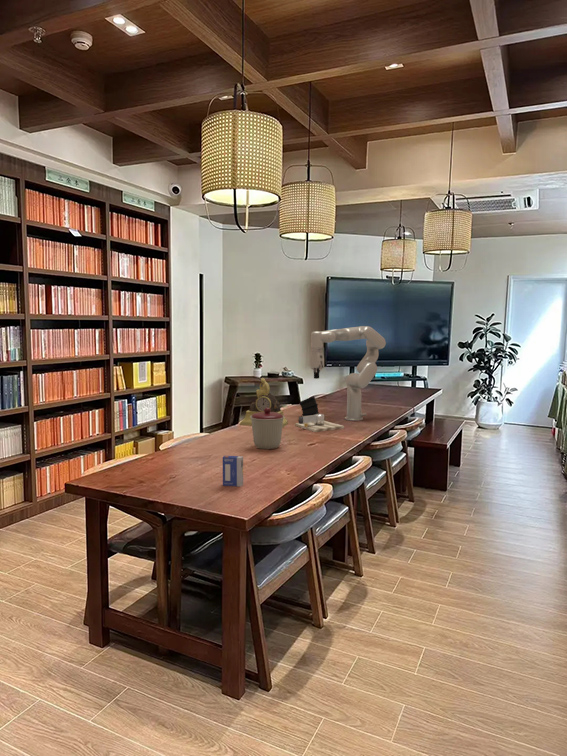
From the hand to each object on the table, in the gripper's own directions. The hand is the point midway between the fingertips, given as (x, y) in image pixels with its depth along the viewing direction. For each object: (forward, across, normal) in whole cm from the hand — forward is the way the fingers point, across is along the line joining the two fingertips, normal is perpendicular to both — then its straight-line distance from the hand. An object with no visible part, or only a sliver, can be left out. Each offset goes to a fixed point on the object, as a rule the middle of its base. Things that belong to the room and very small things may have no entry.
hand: (316, 378), depth 342 cm
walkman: (+29, -94, +107) cm, 145 cm away
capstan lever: (+27, -16, +15) cm, 35 cm away
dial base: (+29, -15, +8) cm, 34 cm away
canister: (+29, -45, +63) cm, 83 cm away
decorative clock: (+30, +10, +34) cm, 46 cm away
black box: (+29, +17, -6) cm, 34 cm away
